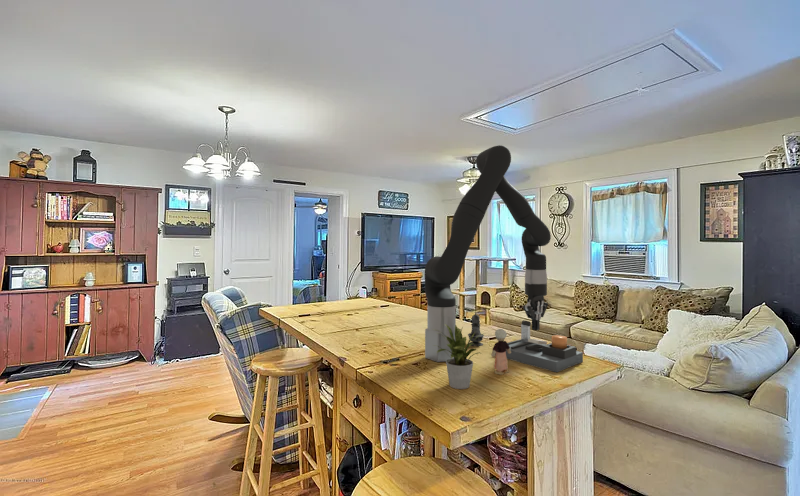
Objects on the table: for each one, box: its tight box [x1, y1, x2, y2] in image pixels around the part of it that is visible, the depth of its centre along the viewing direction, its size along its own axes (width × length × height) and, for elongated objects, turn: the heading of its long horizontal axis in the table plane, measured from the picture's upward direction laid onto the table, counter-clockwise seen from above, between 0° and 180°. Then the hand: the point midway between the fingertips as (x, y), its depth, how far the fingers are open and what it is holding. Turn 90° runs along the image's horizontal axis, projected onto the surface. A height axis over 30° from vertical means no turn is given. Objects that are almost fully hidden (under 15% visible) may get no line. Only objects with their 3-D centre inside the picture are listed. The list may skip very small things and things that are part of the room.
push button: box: [551, 334, 568, 349], centre depth 116 cm, size 4×4×3 cm
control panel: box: [495, 338, 584, 373], centre depth 122 cm, size 16×22×6 cm
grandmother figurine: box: [490, 328, 511, 376], centre depth 108 cm, size 8×4×13 cm, turn 135°
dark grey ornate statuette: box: [467, 312, 485, 347], centre depth 140 cm, size 6×6×12 cm
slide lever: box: [520, 319, 532, 342], centre depth 131 cm, size 2×3×7 cm, turn 38°
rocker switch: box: [528, 338, 548, 345], centre depth 122 cm, size 5×4×1 cm
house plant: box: [432, 324, 486, 390], centre depth 99 cm, size 14×14×16 cm
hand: (535, 329), depth 135 cm, fingers closed
